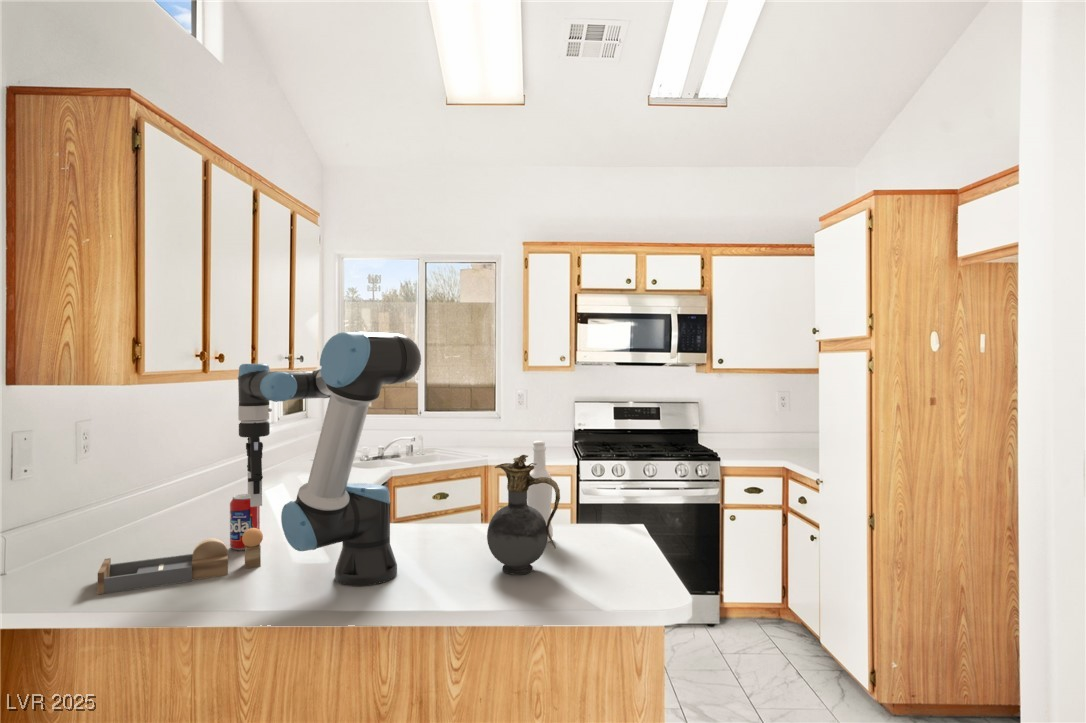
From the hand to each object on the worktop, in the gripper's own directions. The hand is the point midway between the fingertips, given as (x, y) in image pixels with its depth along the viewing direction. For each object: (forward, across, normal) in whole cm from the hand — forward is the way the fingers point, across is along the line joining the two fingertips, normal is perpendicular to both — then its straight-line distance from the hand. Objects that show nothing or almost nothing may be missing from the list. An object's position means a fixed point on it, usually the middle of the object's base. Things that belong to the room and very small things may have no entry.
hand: (254, 500), depth 169 cm
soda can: (+17, +17, +2) cm, 24 cm away
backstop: (+17, -1, +33) cm, 37 cm away
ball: (+10, -1, +1) cm, 10 cm away
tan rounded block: (+17, -1, +11) cm, 20 cm away
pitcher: (+17, -38, -62) cm, 74 cm away
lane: (+17, -1, +24) cm, 29 cm away
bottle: (+17, -16, -77) cm, 81 cm away
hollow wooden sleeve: (+17, -1, +1) cm, 17 cm away
